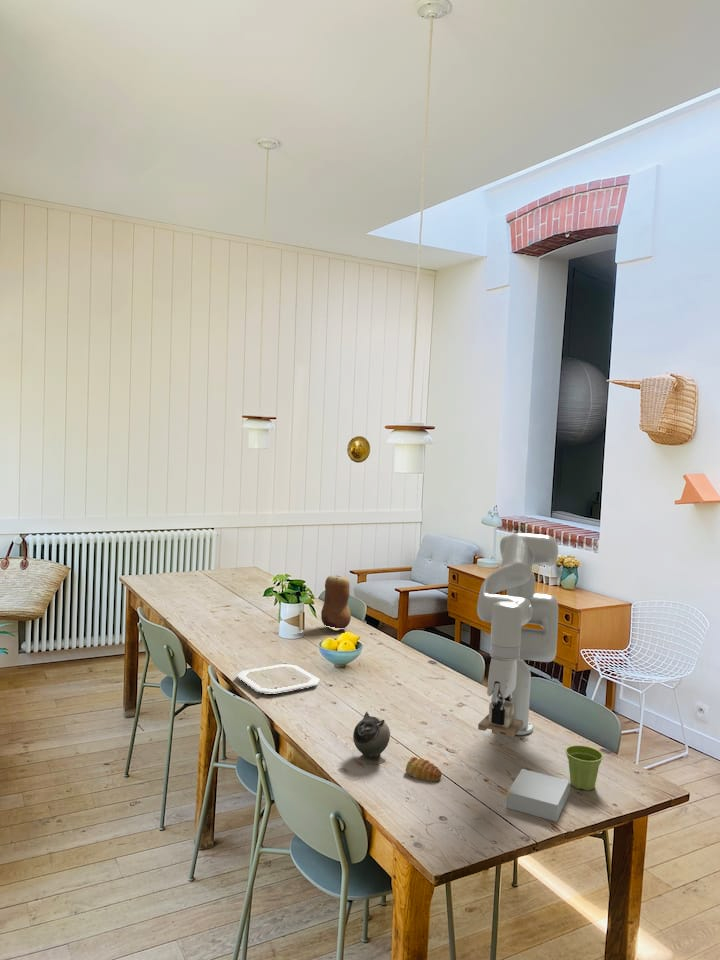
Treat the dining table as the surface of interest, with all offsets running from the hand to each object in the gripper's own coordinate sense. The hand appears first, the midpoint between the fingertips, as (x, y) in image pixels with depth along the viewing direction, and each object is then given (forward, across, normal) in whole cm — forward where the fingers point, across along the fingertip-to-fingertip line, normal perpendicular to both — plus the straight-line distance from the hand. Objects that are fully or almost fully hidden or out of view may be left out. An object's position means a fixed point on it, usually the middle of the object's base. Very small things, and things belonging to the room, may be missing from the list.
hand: (501, 719), depth 183 cm
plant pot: (+18, -13, +19) cm, 29 cm away
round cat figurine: (+18, +5, -35) cm, 39 cm away
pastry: (+18, +5, -19) cm, 27 cm away
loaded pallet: (+2, 0, 0) cm, 2 cm away
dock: (+18, +2, +11) cm, 21 cm away
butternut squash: (+17, -101, -110) cm, 150 cm away
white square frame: (+18, -30, -91) cm, 97 cm away
